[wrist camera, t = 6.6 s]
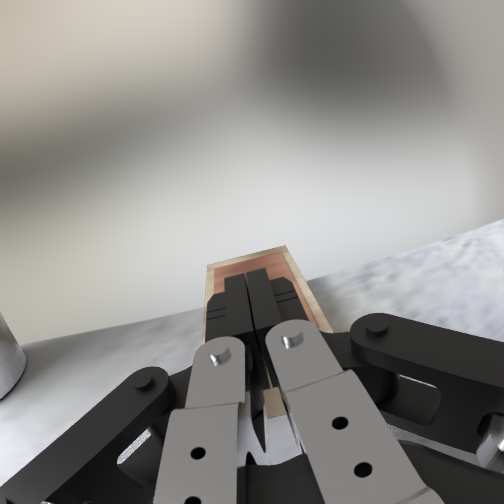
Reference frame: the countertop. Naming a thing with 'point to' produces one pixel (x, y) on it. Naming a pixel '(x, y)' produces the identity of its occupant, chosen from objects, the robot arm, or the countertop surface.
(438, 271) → the countertop surface
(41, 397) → the countertop surface
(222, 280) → the birch block
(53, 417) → the countertop surface
